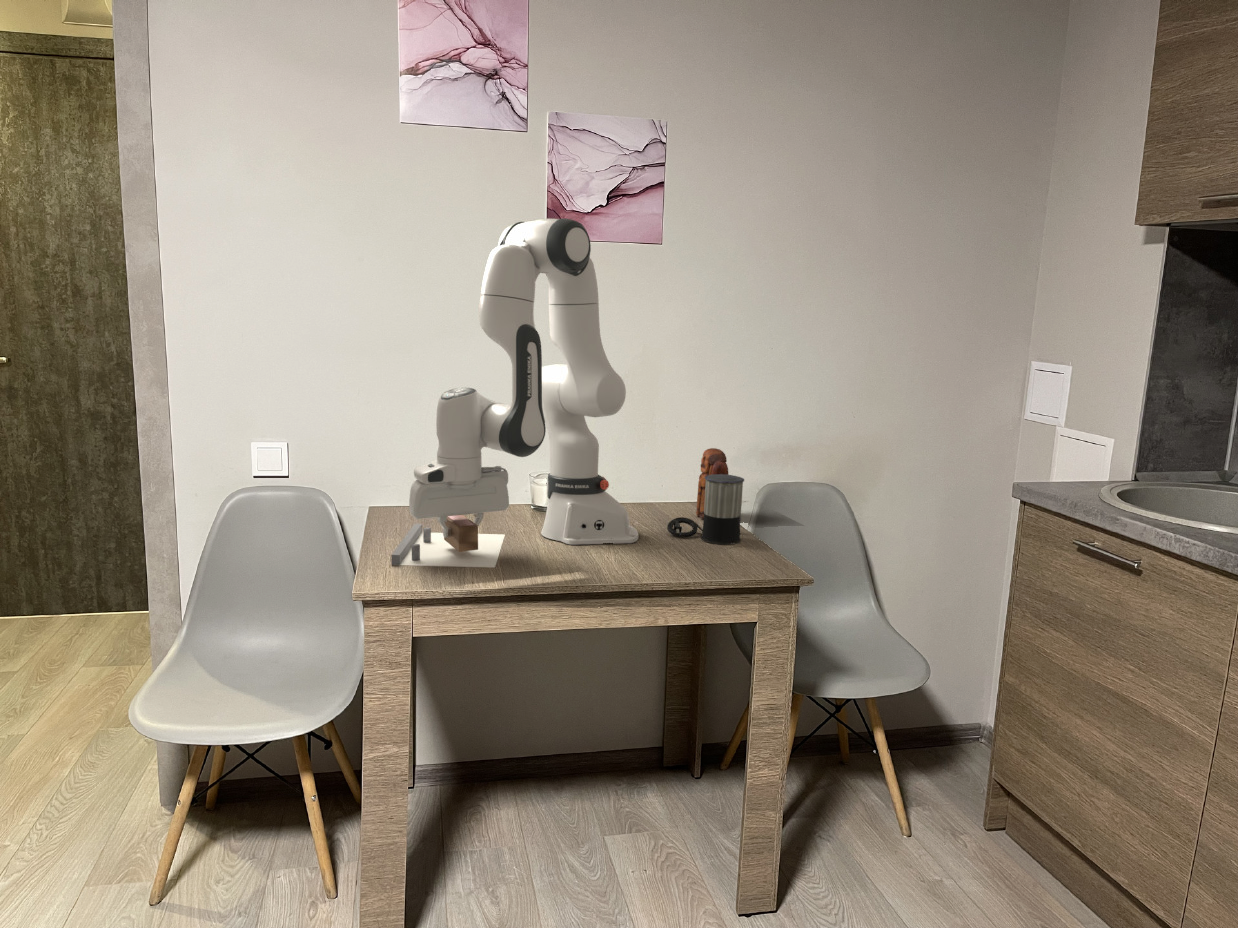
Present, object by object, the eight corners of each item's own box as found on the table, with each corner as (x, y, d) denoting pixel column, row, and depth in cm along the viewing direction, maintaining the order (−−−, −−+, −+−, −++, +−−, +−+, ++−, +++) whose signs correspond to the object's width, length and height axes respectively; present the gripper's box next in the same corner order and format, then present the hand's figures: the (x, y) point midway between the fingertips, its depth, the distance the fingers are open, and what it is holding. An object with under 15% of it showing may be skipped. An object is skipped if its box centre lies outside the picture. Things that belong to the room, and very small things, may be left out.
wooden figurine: (691, 513, 236) (694, 445, 233) (714, 512, 238) (717, 445, 235) (706, 523, 225) (710, 452, 222) (730, 523, 226) (734, 452, 223)
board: (504, 539, 202) (505, 521, 201) (494, 573, 176) (495, 552, 175) (414, 537, 201) (414, 519, 200) (391, 570, 175) (391, 549, 174)
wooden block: (462, 537, 190) (462, 513, 189) (478, 549, 181) (477, 524, 180) (444, 539, 188) (443, 515, 187) (459, 551, 179) (458, 526, 178)
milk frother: (747, 544, 206) (751, 481, 203) (682, 547, 202) (685, 482, 199) (723, 529, 219) (727, 470, 217) (662, 531, 215) (665, 470, 213)
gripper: (502, 462, 189) (503, 526, 192) (406, 470, 180) (407, 536, 182) (513, 468, 184) (513, 533, 186) (414, 476, 174) (416, 544, 177)
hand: (460, 535), depth 184 cm, fingers closed on wooden block, 4 cm apart
